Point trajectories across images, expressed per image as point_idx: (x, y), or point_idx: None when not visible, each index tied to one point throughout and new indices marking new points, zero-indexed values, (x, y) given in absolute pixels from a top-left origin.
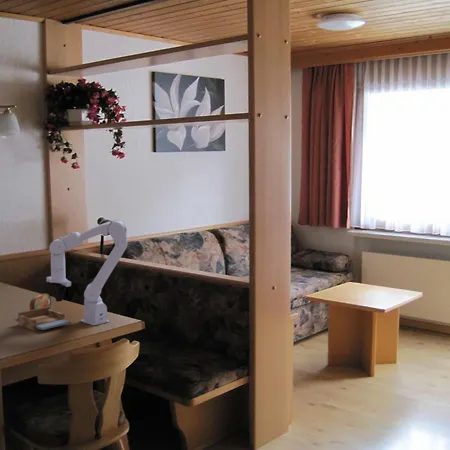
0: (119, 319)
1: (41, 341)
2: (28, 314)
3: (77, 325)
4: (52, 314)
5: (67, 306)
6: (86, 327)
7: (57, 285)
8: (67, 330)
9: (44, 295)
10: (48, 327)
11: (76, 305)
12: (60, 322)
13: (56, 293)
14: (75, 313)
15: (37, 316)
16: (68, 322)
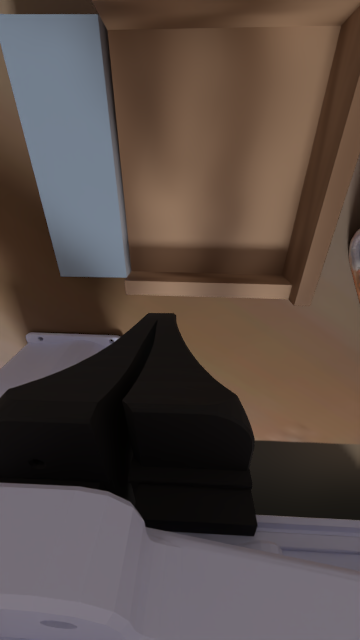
0: None
1: None
2: (338, 102)
3: (72, 295)
4: (233, 276)
5: (346, 417)
6: (21, 302)
7: (23, 455)
8: (13, 212)
9: None
10: (17, 92)
11: (322, 437)
12: (70, 221)
13: (122, 347)
14: (239, 384)
15: (300, 199)
16: (58, 259)
